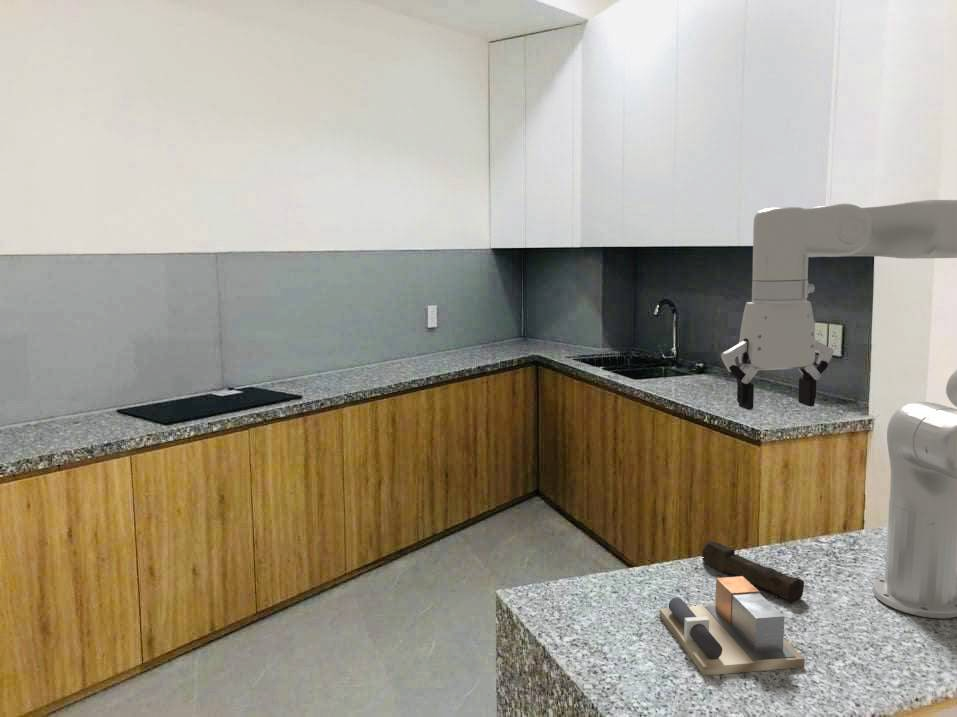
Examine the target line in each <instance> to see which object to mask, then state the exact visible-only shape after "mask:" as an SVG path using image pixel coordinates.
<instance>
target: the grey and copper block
mask: <svg viewBox="0 0 957 717" xmlns="http://www.w3.org/2000/svg"><path fill="white" fill-rule="evenodd" d="M714 605H715V611H716V612H717V613H718V614H719V615H720V616H721V617H722V618H723V620H724V621H725V622H726V623H727V624H728V625H729V626H730V627H731V628H732V629H733V630H734V631H735V632H736V633H737V634H738V635H739V636H740V637H741V639H742V640H743V641H744V642H745V643H746V644H747V645H748V646H749V647H750V648H751V650H752V651H753V652H754V653H764V652H777V651H783V639H785V638H784V636H785V615H784V614H783V613H782V612H780V610H779V609H778V608H776V607H775V606H774V605H773V604H772V603H770V602H769V600H767V599H766V598H765V597H764V595H762V593H760V590H758V588H757V587H755V586H754V584H753V583H751V582H749V581H748V580H746V579H745V578H744V577H743V576H739V577H737V576H727V577H716V578H715V604H714Z"/></svg>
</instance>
